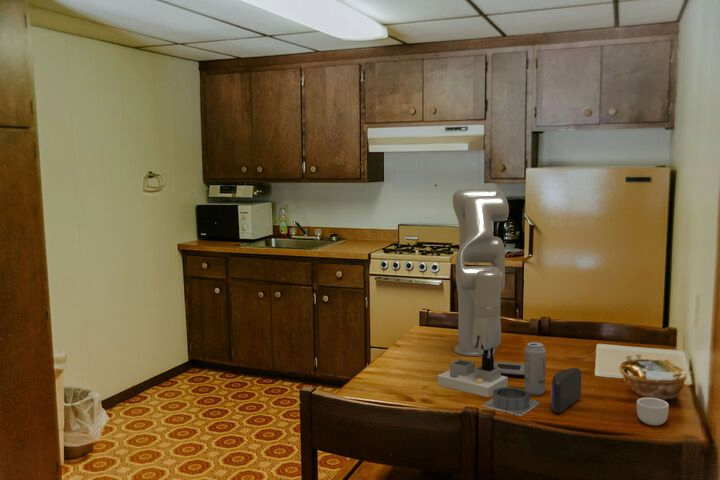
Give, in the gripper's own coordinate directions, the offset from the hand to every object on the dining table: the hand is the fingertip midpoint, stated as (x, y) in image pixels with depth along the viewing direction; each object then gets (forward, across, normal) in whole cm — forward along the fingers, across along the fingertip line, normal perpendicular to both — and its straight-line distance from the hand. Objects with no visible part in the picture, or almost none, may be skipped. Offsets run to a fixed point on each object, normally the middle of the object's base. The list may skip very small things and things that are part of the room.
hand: (487, 369), depth 196 cm
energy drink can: (+6, -5, +13) cm, 15 cm away
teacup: (+6, -5, +47) cm, 48 cm away
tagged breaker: (+2, 0, 0) cm, 3 cm away
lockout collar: (+6, +8, +12) cm, 16 cm away
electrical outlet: (+6, -17, -2) cm, 18 cm away
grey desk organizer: (+6, +1, -5) cm, 8 cm away
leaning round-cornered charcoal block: (+6, -1, +25) cm, 26 cm away
